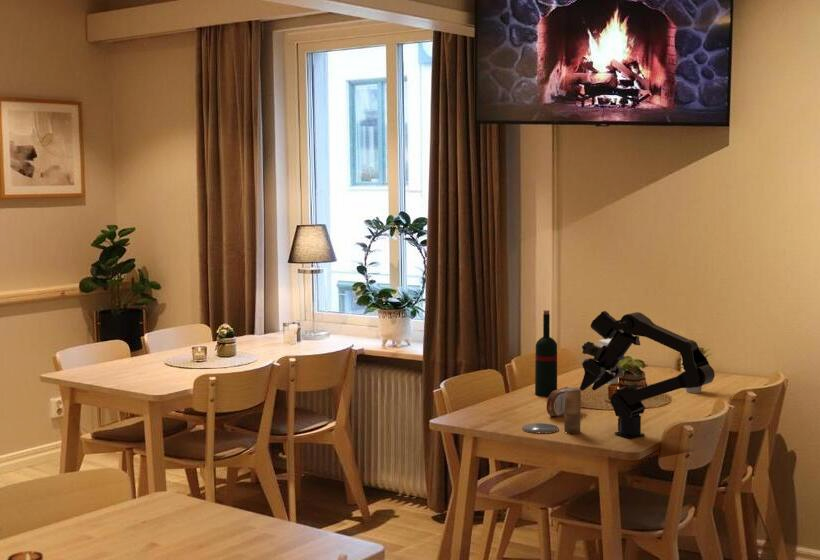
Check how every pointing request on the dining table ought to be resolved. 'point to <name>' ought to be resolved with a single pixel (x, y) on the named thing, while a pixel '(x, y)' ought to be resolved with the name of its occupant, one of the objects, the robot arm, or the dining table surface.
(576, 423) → the pepper mill
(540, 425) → the coaster
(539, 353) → the wine bottle
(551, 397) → the tin
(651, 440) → the dining table surface
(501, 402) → the dining table surface
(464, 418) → the dining table surface
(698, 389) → the house plant
